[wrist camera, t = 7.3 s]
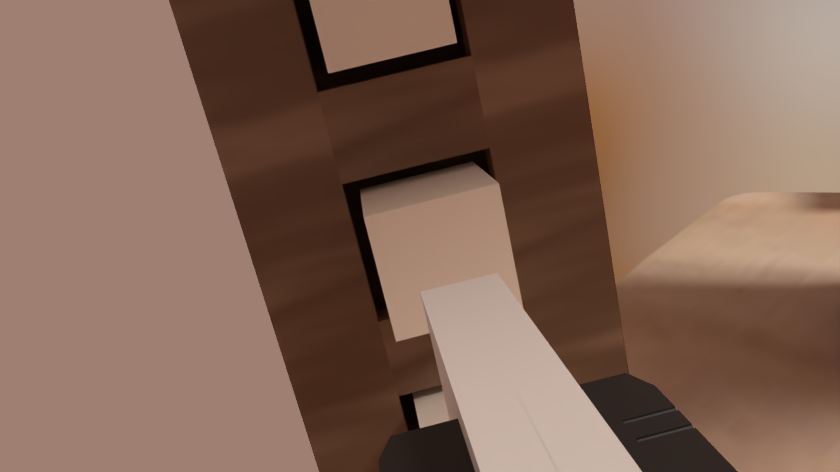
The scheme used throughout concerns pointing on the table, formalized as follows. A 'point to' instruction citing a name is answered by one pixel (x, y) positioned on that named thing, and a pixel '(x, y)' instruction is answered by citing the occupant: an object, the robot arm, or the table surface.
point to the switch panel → (392, 160)
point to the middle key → (436, 238)
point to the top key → (379, 29)
